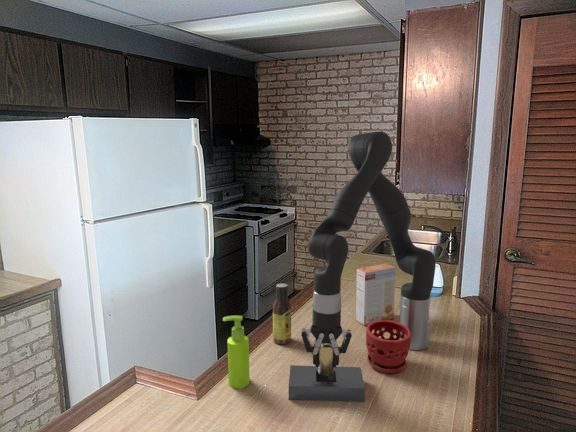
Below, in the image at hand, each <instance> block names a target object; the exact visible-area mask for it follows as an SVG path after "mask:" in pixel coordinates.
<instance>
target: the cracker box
mask: <svg viewBox="0 0 576 432" xmlns="http://www.w3.org/2000/svg"><path fill="white" fill-rule="evenodd" d="M396 269H397V268H396V266H393V265H391V264H389V263H380V264H377V265H370V266H364V267H359V268H356V295H355V296H356V297H355V301H356V303H355V322H356V321H357V322H358V323H359V324H360V325H362V326H364V327H366V326H368V325H369V324H370V323H372V322H375V321H380V320H389V321H392V320H393V319H394V318H395V297H396V296H395V293H396V292H395V291H396Z"/></svg>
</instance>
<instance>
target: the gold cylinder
mask: <svg viewBox="0 0 576 432" xmlns="http://www.w3.org/2000/svg"><path fill="white" fill-rule="evenodd" d="M318 373H319V374H320V375H323V376H330V375H332V374H333V373H334V349H333V347H332V344H328V343H324V344H321V345H320V348H319V350H318Z"/></svg>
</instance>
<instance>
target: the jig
mask: <svg viewBox="0 0 576 432" xmlns="http://www.w3.org/2000/svg"><path fill="white" fill-rule="evenodd" d="M361 368H362V367H361V366H360V367H359V366H336V367H334V373H333V374H332V375H330V376H323V375H320V374H319V373H318V367H315V365H295V364H294V365H290V368H289V377H288V400H293V401H294V400H295V401H296V400H297V401H320V402H321V401H326V402H328V401H329V402H354V403H355V402H358V403H365V397H366V396H365V395H366V390H365V389H366V387H365V386H366V385H365V383H364V377H363V372H362V369H361Z"/></svg>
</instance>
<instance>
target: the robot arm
mask: <svg viewBox="0 0 576 432" xmlns="http://www.w3.org/2000/svg"><path fill="white" fill-rule="evenodd" d="M347 145H348V146H347V147H348V155H349V157H350V160H351V162H352V164H353V166H354V168H355V169H356V174H354V176H353V177H352V178H351V179H350V180H349V181H348V182H347V183H346V184H345V185H344V186H343V187H342V188H341V189H340V190H339V192H338V193H337V195H336V196H335V198H334V200H333V202H332V205H331V207H330V209H329V211H328V212H327V215H326V216H325V218H324V219H322V221H321V222H320V223H319V225H318V226H317V227H316V228H315V229H314V230H313V232H312V234H311V235H310V236H309V239H308V242H307V243H308V244H307V250H308V253H309V255H310V256H311V257H313V258H316V259H319V260H324V261H328V264H327V266H322V267H318V268H316V269H315V271H314V273H313V293H312V321H311V322H312V325H311V326H310V328H302V329H301V335H300V336H301V338H302V343H303V344H304V348H305V351H306V352H307V353H311V354H312V364H313V366H315V367H318V350H319V348H320V345H321V344H324V343H328V344H332V347H333V349H334V367H337V366H340V365H339V364H340V354H346V352H347V350H348V348H349V345H350V342H351V339H352V337H353V335H352V330H351V329H347V330H346V329H343V328H342V326H341V325H342V324H341V323H342V321H341V320H342V319H341V318H342V317H341V316H342V295H341V290H342V289H341V286H342V284H341V283H342V281H341V280H342V274H343V271H344V267H345V264H346V260H347V258H348V254H349V243H348V240H347V239H346V237H345V236H343V235H339V234H337V233H340V232H347V231H349V230H350V229H351V228H352V226H353V224H354V222H355V220H356V218H357V215H358V213H359V211H360V208H361V205H362V203H363V201H364V200H365V198H366V196H367V195H368V193H369V195H370V198H371V200H372V202H373V204H374V207H375V210H376V213H377V215H378V217H379V219H380V222H381V223H382V225H383V228H384V230H385V233H386V234H387V236H388V237H387V238H388V239H389V241H390V245H391V248H392V251H393V255H394V257H395V261H396V264H397V266H398V268H399V269H400V270H401V271H402V272H404V273H405V274H408V275H411V276H412V281H411V282H407V283H406V282H405V283H403V285H402V286H401V288H400V302H399V303H400V304H399V306H400V307H399V320H398V321H399V322H398V323H400V324H403V325H404V326H406V327H407V328H408V329H409V330H410V332H411V343H410V349H409V351H410V350H411V351H421V350H425V349H429V347H430V335H431V334H430V333H431V320H430V318H429V317H430V304H431V293H432V290H433V287H434V281H435V273H436V256H435V254H434V253H433V252H432V251H430V250H429V249H428V250H427V249H425V248H423V247H422V248H421V247H418V246H415V244H414V243H413V241H412V239H411V237H410V234H409V227H410V224H411V219H412V213H411V212H412V211H411V209H410V206H409V204H408V200H407V198H406V197H405V195H404V193H403V192H402V190H400V188H399V187H397V186H396V184H395V183H393V182H392V181H390V179H389V178H387V177H386V176H385V175H384V174H383V172H382V171H383V169H384V168H385V166H387V164H388V162H389V160H390V158H391V156H392V153H393V143H392V138H391V136H390V135H388V133H386V132H384V131H372V132H365V133H360V134H355V135H353V136H352V137H351V138H350V139H349V141H348V144H347ZM310 334H311V335H312V336H313V337H314V339H315V340H314V344H313V345H311V343H310V339H309V338H310V336H311V335H310ZM400 334H401V335H402V332H400ZM341 335H342V338H343V340H342V343H341V345H340V346H339V345H338V341H337V340H338V339H339V337H340V336H341ZM404 337H406V334H405V335H404ZM400 339H402V338H399V340H400Z"/></svg>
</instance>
